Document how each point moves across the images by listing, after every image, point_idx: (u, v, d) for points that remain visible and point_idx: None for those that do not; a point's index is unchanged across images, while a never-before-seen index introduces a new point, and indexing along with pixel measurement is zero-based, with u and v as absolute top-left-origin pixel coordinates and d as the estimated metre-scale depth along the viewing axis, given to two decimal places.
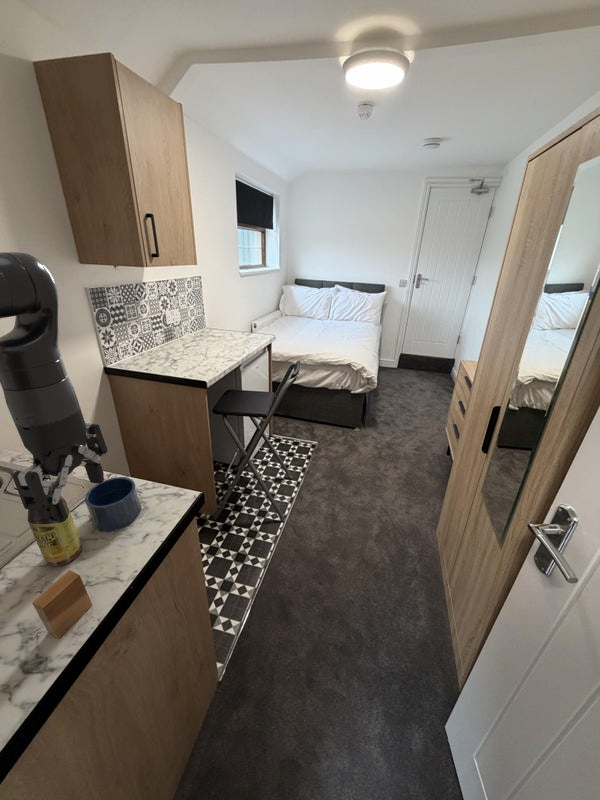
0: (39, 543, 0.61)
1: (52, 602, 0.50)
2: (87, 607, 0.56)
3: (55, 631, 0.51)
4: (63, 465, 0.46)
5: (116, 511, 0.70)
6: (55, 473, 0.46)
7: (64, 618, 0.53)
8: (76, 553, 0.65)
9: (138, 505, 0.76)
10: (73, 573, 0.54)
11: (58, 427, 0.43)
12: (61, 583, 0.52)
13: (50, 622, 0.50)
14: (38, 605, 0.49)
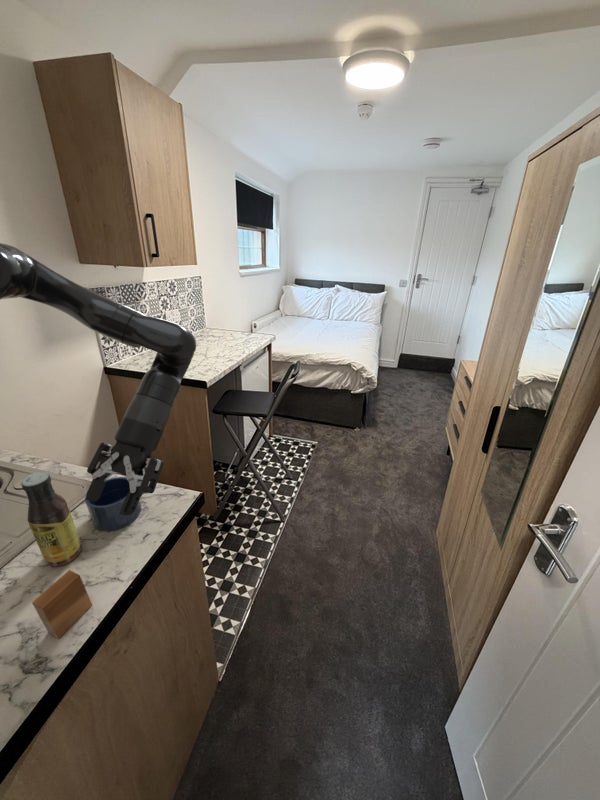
0: (39, 543, 0.61)
1: (52, 602, 0.50)
2: (87, 607, 0.56)
3: (55, 631, 0.51)
4: None
5: (116, 511, 0.70)
6: (141, 470, 0.60)
7: (64, 618, 0.53)
8: (76, 553, 0.65)
9: (138, 505, 0.76)
10: (73, 573, 0.54)
11: None
12: (61, 583, 0.52)
13: (50, 622, 0.50)
14: (38, 605, 0.49)
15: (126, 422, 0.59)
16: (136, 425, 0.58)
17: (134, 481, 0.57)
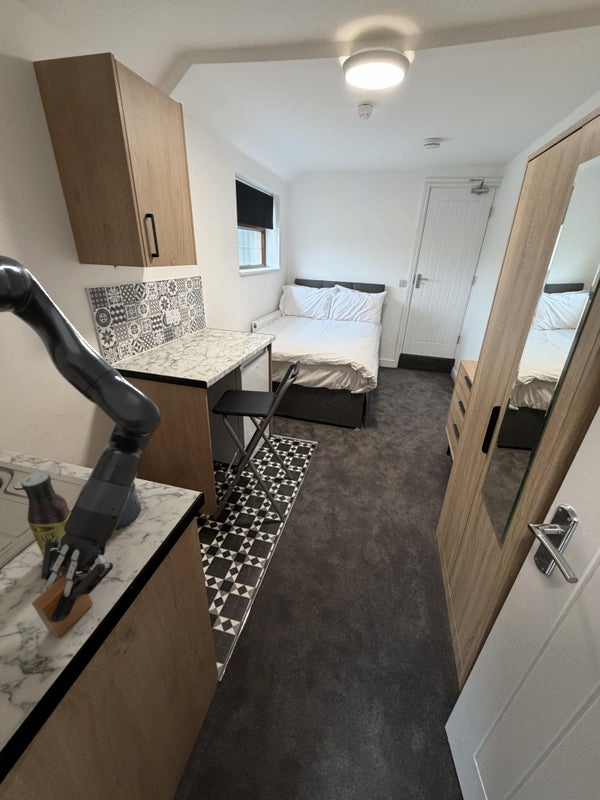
0: (39, 543, 0.61)
1: (52, 603, 0.50)
2: (88, 606, 0.56)
3: (56, 631, 0.52)
4: None
5: None
6: (93, 563, 0.54)
7: None
8: None
9: (138, 505, 0.76)
10: None
11: None
12: (61, 583, 0.52)
13: (50, 622, 0.50)
14: (38, 606, 0.49)
15: (77, 512, 0.53)
16: (87, 516, 0.53)
17: (72, 584, 0.51)
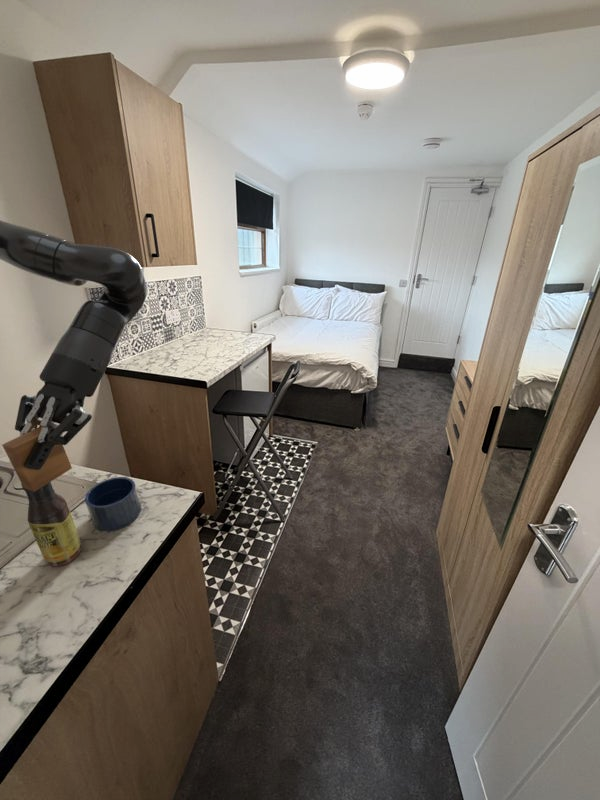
0: (39, 543, 0.61)
1: (24, 446, 0.46)
2: (66, 468, 0.53)
3: (29, 481, 0.48)
4: None
5: (116, 511, 0.70)
6: None
7: (39, 470, 0.49)
8: (76, 553, 0.65)
9: (138, 505, 0.76)
10: None
11: (100, 379, 0.54)
12: (35, 432, 0.49)
13: (23, 468, 0.47)
14: (8, 446, 0.45)
15: (53, 358, 0.49)
16: (64, 361, 0.49)
17: (46, 430, 0.48)
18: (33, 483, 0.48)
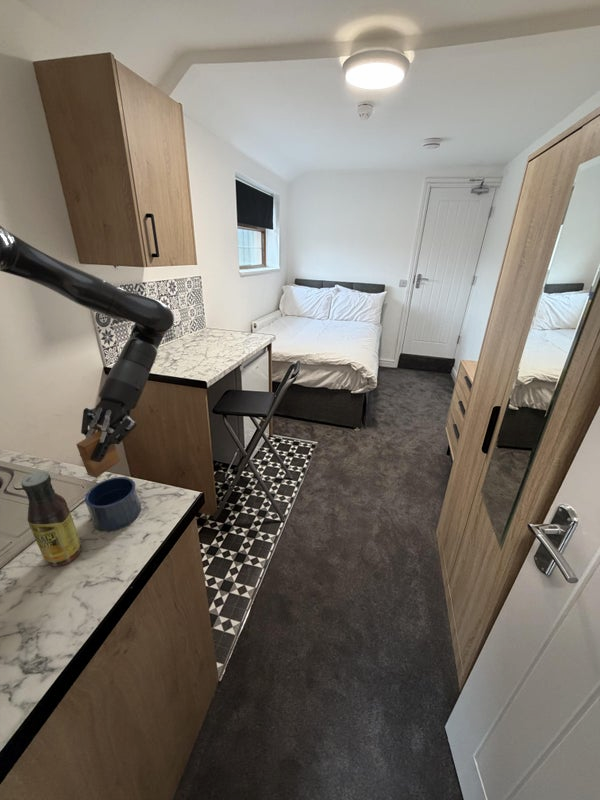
0: (39, 543, 0.61)
1: (91, 445, 0.65)
2: (116, 461, 0.72)
3: (93, 470, 0.67)
4: None
5: (116, 511, 0.70)
6: None
7: (100, 462, 0.68)
8: (76, 553, 0.65)
9: (138, 505, 0.76)
10: None
11: (140, 395, 0.73)
12: (97, 435, 0.68)
13: (90, 461, 0.66)
14: (81, 445, 0.65)
15: (108, 381, 0.68)
16: (117, 384, 0.68)
17: (106, 433, 0.67)
18: (96, 471, 0.67)
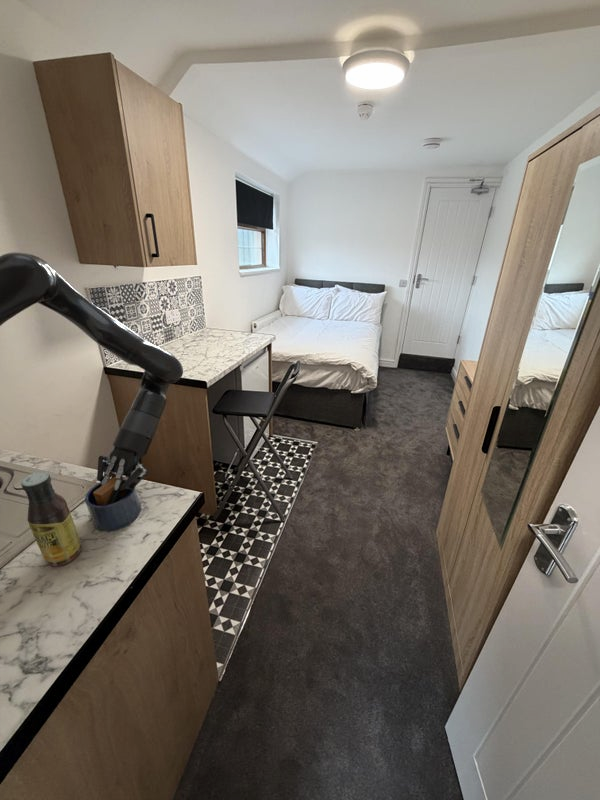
0: (39, 543, 0.61)
1: (107, 493, 0.71)
2: None
3: None
4: None
5: (116, 511, 0.70)
6: (134, 470, 0.75)
7: None
8: (76, 553, 0.65)
9: (138, 505, 0.76)
10: None
11: None
12: (111, 482, 0.73)
13: None
14: (98, 494, 0.70)
15: (122, 432, 0.74)
16: (130, 434, 0.73)
17: (120, 481, 0.72)
18: None
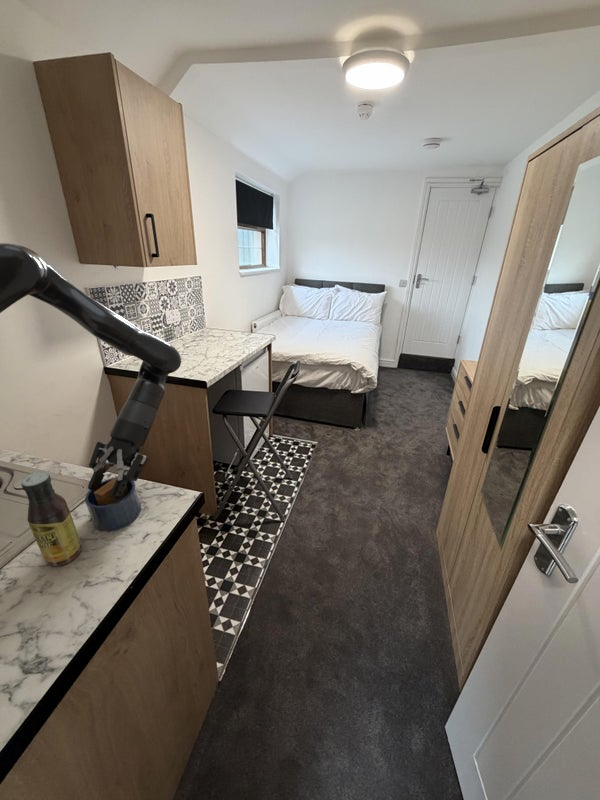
0: (39, 543, 0.61)
1: (107, 493, 0.71)
2: None
3: None
4: None
5: (116, 511, 0.70)
6: (131, 461, 0.73)
7: None
8: (76, 553, 0.65)
9: (138, 505, 0.76)
10: None
11: None
12: (112, 483, 0.73)
13: None
14: (98, 493, 0.70)
15: (119, 422, 0.73)
16: (127, 424, 0.72)
17: (122, 471, 0.71)
18: None
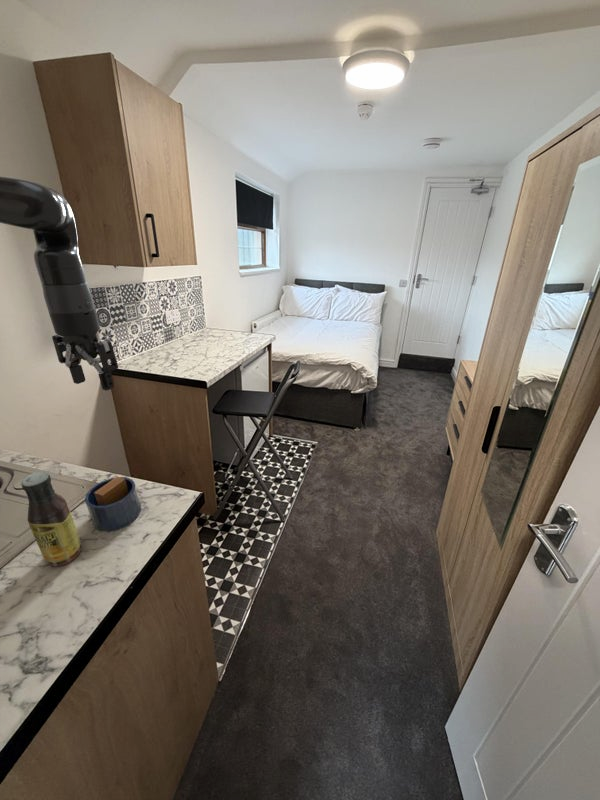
0: (39, 543, 0.61)
1: (108, 493, 0.71)
2: None
3: None
4: None
5: (116, 511, 0.70)
6: (98, 351, 0.65)
7: None
8: (76, 553, 0.65)
9: (138, 505, 0.76)
10: (120, 478, 0.75)
11: None
12: (113, 483, 0.73)
13: None
14: (99, 494, 0.70)
15: (53, 317, 0.60)
16: (62, 318, 0.59)
17: (96, 364, 0.64)
18: None
